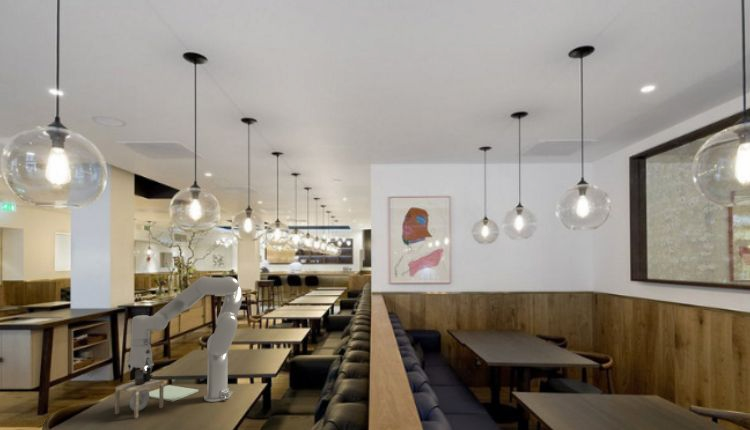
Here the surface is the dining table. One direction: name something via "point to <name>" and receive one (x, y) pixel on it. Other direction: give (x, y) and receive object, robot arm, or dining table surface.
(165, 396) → the mat
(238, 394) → the dining table surface
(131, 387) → the miniature stool
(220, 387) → the robot arm
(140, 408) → the donut
